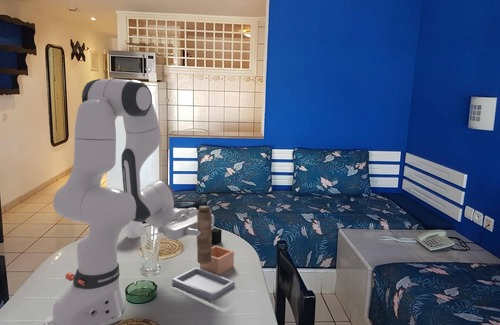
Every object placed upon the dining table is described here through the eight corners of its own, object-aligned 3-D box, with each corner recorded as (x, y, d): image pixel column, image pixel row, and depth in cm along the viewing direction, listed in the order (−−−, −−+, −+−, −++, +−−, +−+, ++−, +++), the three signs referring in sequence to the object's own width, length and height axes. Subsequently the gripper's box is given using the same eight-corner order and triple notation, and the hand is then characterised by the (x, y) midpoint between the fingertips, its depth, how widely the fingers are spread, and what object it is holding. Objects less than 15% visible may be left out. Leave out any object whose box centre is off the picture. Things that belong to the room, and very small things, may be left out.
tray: (211, 302, 126) (211, 295, 125) (172, 285, 136) (172, 278, 135) (234, 288, 135) (234, 281, 135) (196, 273, 145) (196, 266, 145)
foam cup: (128, 231, 185) (127, 205, 183) (147, 232, 184) (146, 206, 182) (119, 238, 176) (118, 211, 174) (139, 240, 175) (138, 212, 173)
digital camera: (223, 243, 174) (223, 228, 173) (216, 247, 169) (216, 232, 168) (204, 238, 179) (204, 224, 178) (197, 242, 174) (196, 227, 173)
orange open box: (218, 277, 143) (218, 259, 141) (200, 270, 148) (200, 252, 146) (233, 268, 150) (233, 251, 148) (215, 262, 155) (215, 245, 154)
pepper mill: (204, 265, 131) (204, 210, 127) (194, 261, 134) (194, 207, 130) (214, 260, 135) (214, 207, 131) (204, 256, 138) (203, 204, 134)
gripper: (154, 220, 131) (183, 230, 123) (196, 206, 147) (225, 213, 139) (154, 238, 132) (184, 249, 124) (197, 222, 148) (225, 230, 140)
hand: (206, 230), depth 132 cm, fingers closed on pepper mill, 5 cm apart
